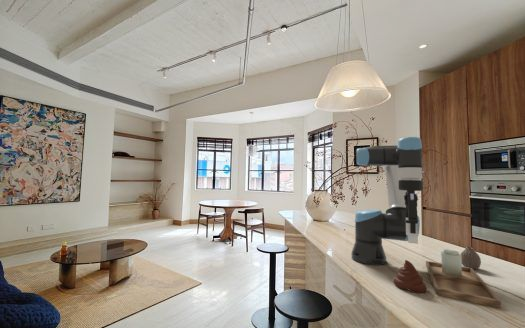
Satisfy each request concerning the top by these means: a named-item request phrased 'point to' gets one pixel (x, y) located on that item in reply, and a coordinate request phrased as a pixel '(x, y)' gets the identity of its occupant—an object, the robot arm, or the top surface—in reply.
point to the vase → (470, 258)
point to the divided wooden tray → (461, 285)
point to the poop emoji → (410, 279)
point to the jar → (451, 263)
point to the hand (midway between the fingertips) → (411, 238)
